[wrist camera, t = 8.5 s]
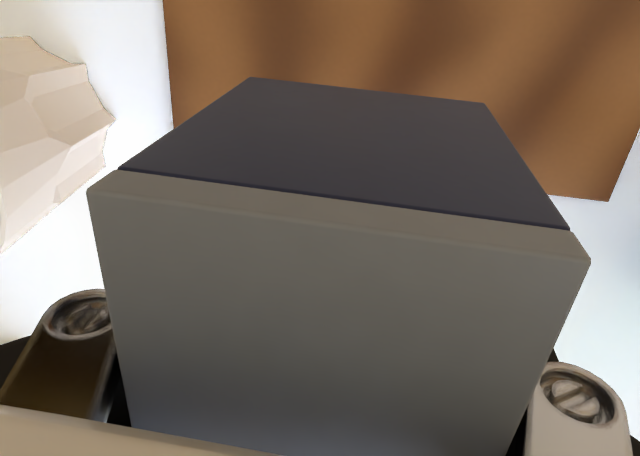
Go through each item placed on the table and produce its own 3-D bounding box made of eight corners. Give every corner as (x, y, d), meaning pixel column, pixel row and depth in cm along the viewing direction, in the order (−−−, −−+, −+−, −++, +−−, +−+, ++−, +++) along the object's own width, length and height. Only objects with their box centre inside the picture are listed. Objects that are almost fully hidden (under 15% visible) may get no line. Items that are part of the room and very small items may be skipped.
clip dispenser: (248, 349, 14) (159, 575, 9) (248, 76, 10) (83, 188, 5) (415, 377, 13) (427, 634, 8) (485, 102, 9) (595, 260, 4)
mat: (179, 145, 27) (174, 149, 26) (159, -104, 21) (152, -107, 20) (604, 197, 25) (608, 202, 24) (713, -64, 19) (722, -66, 18)
